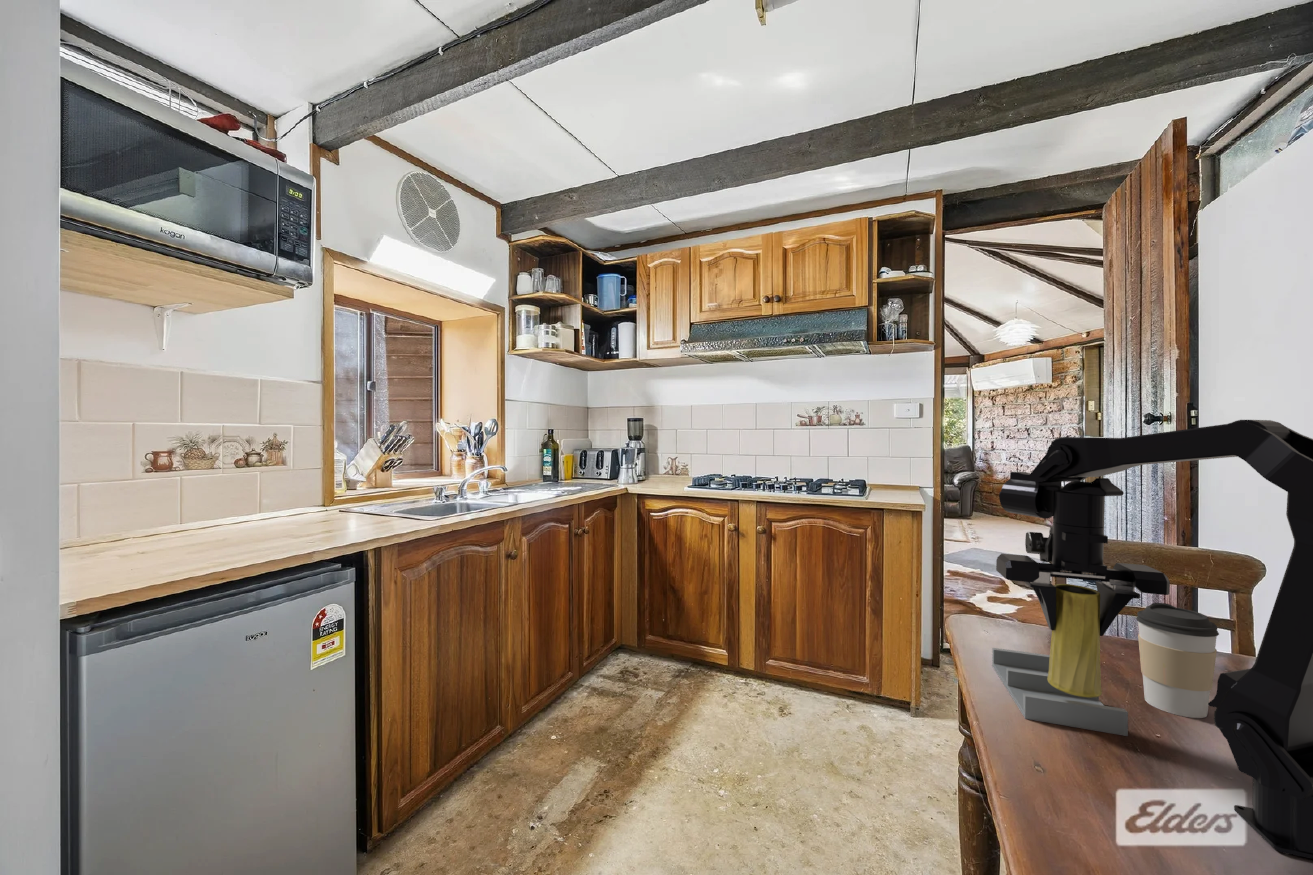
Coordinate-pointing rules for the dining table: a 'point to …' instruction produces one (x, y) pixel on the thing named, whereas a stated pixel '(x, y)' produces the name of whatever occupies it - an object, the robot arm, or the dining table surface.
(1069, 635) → the vase
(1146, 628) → the coffee cup
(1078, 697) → the tiered shelf
